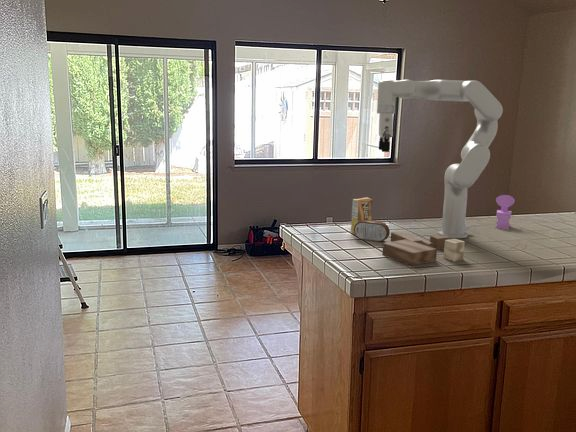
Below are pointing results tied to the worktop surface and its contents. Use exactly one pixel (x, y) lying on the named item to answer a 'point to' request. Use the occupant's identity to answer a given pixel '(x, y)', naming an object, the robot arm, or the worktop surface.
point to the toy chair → (504, 211)
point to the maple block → (454, 249)
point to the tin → (371, 230)
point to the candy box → (361, 211)
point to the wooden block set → (435, 239)
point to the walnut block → (409, 252)
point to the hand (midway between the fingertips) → (383, 150)
